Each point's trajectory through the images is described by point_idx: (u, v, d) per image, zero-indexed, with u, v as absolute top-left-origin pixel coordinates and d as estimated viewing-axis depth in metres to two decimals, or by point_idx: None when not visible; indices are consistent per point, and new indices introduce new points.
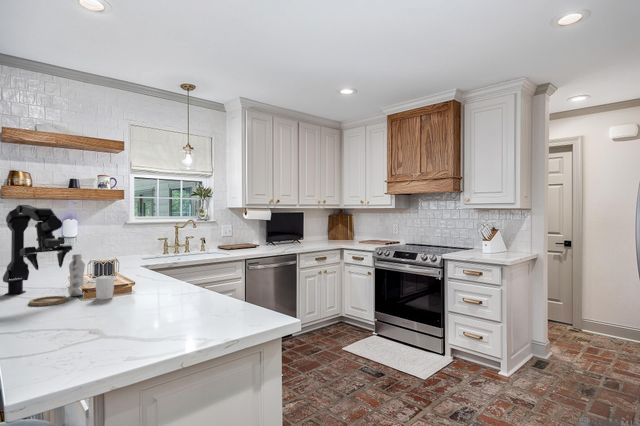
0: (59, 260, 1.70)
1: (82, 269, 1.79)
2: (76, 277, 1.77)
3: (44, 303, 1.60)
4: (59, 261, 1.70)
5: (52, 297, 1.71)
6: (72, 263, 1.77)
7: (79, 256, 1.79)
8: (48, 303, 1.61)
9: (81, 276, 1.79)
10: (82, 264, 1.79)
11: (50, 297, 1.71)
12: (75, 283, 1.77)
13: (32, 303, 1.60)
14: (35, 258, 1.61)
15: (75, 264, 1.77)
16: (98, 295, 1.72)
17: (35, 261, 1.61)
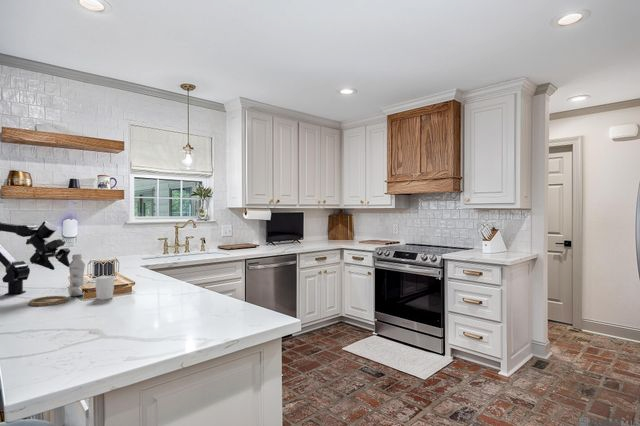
0: (64, 262, 1.85)
1: (82, 269, 1.79)
2: (76, 277, 1.77)
3: (44, 303, 1.60)
4: (65, 262, 1.85)
5: (52, 297, 1.71)
6: (72, 263, 1.77)
7: (79, 256, 1.79)
8: (48, 303, 1.61)
9: (81, 276, 1.79)
10: (82, 264, 1.79)
11: (50, 297, 1.71)
12: (75, 283, 1.77)
13: (32, 303, 1.60)
14: (47, 259, 1.75)
15: (75, 264, 1.77)
16: (98, 295, 1.72)
17: (49, 262, 1.75)
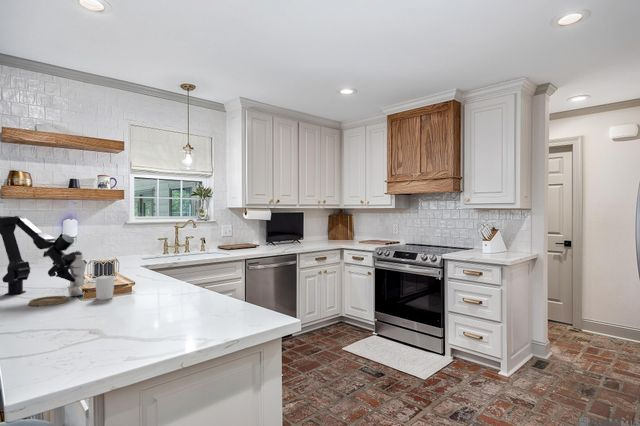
0: None
1: (83, 269, 1.79)
2: (77, 277, 1.77)
3: (44, 303, 1.60)
4: None
5: (52, 297, 1.71)
6: (73, 263, 1.77)
7: (80, 256, 1.79)
8: (48, 303, 1.61)
9: (82, 276, 1.79)
10: (83, 264, 1.79)
11: (50, 297, 1.71)
12: (76, 282, 1.77)
13: (32, 303, 1.60)
14: (68, 272, 1.75)
15: (76, 264, 1.77)
16: (98, 295, 1.72)
17: (69, 274, 1.75)
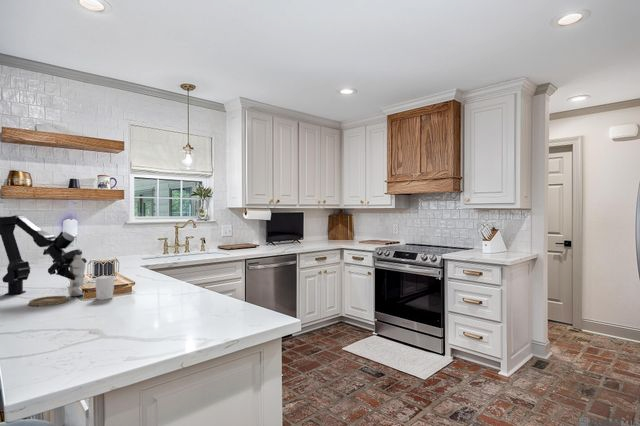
0: None
1: (82, 269, 1.79)
2: (77, 277, 1.77)
3: (44, 303, 1.60)
4: None
5: (52, 297, 1.71)
6: (72, 263, 1.77)
7: (79, 256, 1.78)
8: (48, 303, 1.61)
9: (81, 276, 1.79)
10: (82, 264, 1.79)
11: (50, 297, 1.71)
12: (76, 283, 1.77)
13: (32, 303, 1.60)
14: (68, 270, 1.75)
15: (76, 264, 1.77)
16: (98, 295, 1.72)
17: (69, 272, 1.75)
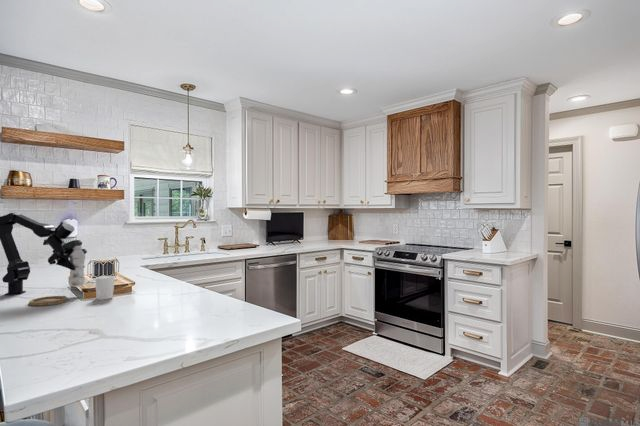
0: None
1: (82, 260, 1.79)
2: (77, 267, 1.77)
3: (44, 303, 1.60)
4: None
5: (52, 297, 1.71)
6: (72, 254, 1.77)
7: (79, 247, 1.78)
8: (48, 303, 1.61)
9: (81, 267, 1.79)
10: (82, 255, 1.79)
11: (50, 297, 1.71)
12: (76, 273, 1.77)
13: (32, 303, 1.60)
14: (68, 260, 1.75)
15: (76, 254, 1.77)
16: (98, 295, 1.72)
17: (69, 262, 1.75)
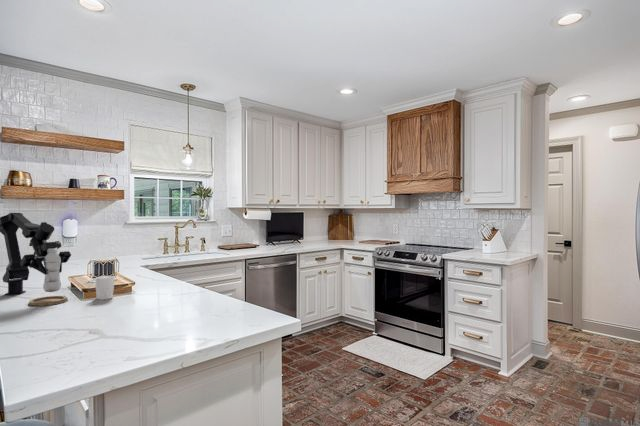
0: None
1: (55, 264, 1.66)
2: (49, 272, 1.65)
3: (44, 303, 1.60)
4: None
5: (52, 297, 1.71)
6: (45, 257, 1.65)
7: (53, 250, 1.66)
8: (48, 303, 1.61)
9: (54, 271, 1.66)
10: (55, 258, 1.66)
11: (50, 297, 1.71)
12: (48, 278, 1.65)
13: (32, 303, 1.60)
14: (41, 263, 1.64)
15: (48, 258, 1.64)
16: (98, 295, 1.72)
17: (41, 266, 1.64)
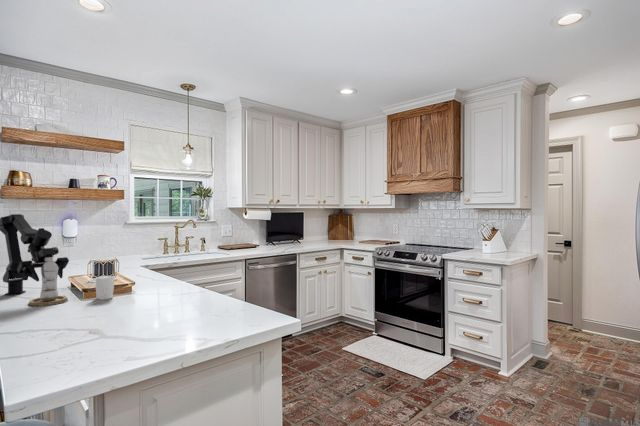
0: (59, 272, 1.71)
1: (52, 273, 1.65)
2: (46, 281, 1.64)
3: (44, 303, 1.60)
4: (59, 273, 1.71)
5: None
6: (43, 266, 1.64)
7: (50, 258, 1.65)
8: (48, 303, 1.61)
9: (52, 280, 1.65)
10: (52, 267, 1.65)
11: None
12: (45, 287, 1.64)
13: (32, 303, 1.60)
14: (33, 270, 1.62)
15: (45, 267, 1.64)
16: (98, 295, 1.72)
17: (34, 273, 1.62)
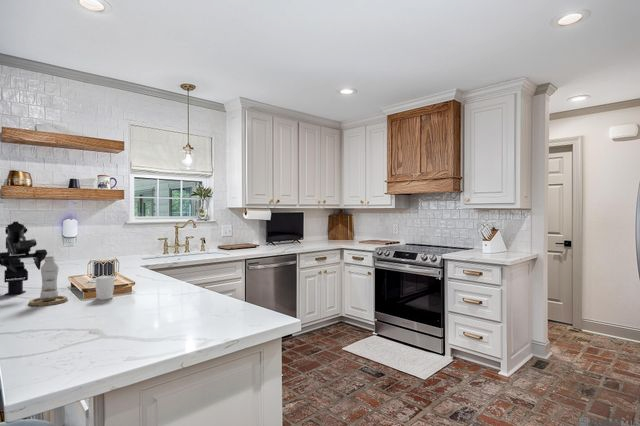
0: (37, 264, 1.76)
1: (52, 273, 1.65)
2: (46, 281, 1.64)
3: (44, 303, 1.60)
4: (37, 265, 1.76)
5: None
6: (43, 266, 1.64)
7: (50, 258, 1.65)
8: (48, 303, 1.61)
9: (52, 280, 1.65)
10: (52, 267, 1.65)
11: None
12: (45, 287, 1.64)
13: (32, 303, 1.60)
14: (11, 261, 1.68)
15: (45, 267, 1.64)
16: (98, 295, 1.72)
17: (12, 264, 1.67)
